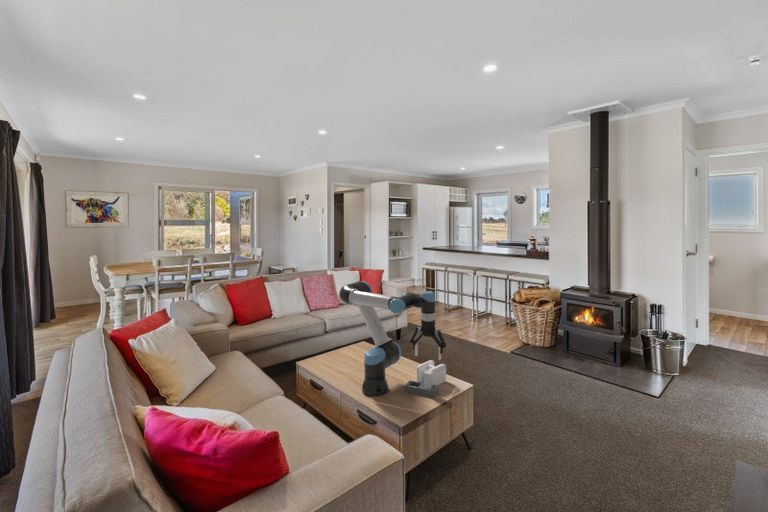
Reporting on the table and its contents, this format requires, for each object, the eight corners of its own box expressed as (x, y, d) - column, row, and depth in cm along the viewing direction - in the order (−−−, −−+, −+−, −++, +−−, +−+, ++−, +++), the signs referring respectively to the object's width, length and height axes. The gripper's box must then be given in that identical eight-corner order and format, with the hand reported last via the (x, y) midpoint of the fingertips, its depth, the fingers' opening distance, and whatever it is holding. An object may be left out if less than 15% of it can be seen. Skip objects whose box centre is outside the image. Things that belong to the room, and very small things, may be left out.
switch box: (405, 392, 207) (405, 385, 207) (409, 387, 214) (409, 380, 213) (434, 398, 200) (434, 390, 200) (438, 392, 207) (438, 385, 206)
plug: (423, 393, 204) (423, 373, 203) (426, 390, 209) (426, 369, 207) (430, 395, 203) (430, 374, 201) (433, 391, 207) (433, 370, 206)
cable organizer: (433, 376, 227) (433, 358, 226) (446, 382, 219) (447, 363, 218) (416, 384, 217) (416, 365, 216) (430, 390, 209) (430, 371, 208)
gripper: (404, 318, 202) (404, 356, 205) (448, 324, 192) (448, 363, 195) (409, 315, 209) (409, 351, 212) (452, 320, 199) (451, 358, 201)
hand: (427, 357), depth 203 cm, fingers open, 13 cm apart
